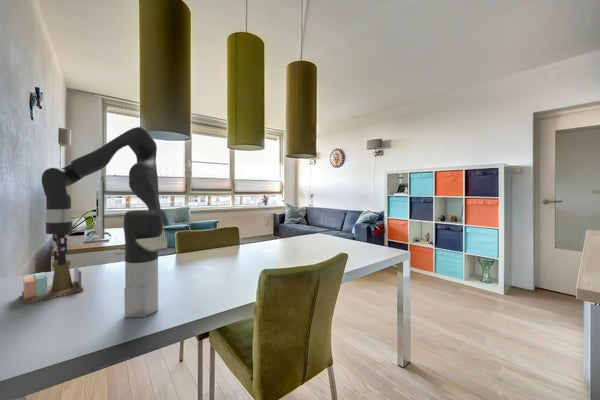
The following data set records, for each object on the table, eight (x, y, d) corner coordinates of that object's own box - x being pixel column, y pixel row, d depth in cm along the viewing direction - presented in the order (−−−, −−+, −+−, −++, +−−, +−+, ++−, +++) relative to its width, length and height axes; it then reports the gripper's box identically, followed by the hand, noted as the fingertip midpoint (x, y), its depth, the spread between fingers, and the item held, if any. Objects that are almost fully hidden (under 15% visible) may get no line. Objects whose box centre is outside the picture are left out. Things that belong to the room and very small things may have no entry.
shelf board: (23, 304, 90) (23, 299, 90) (22, 295, 98) (22, 291, 98) (83, 291, 102) (83, 287, 102) (77, 284, 110) (77, 280, 110)
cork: (75, 286, 103) (74, 258, 102) (54, 291, 97) (54, 262, 97) (68, 283, 106) (68, 256, 105) (48, 288, 101) (48, 260, 100)
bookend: (78, 287, 102) (78, 272, 102) (74, 281, 108) (74, 267, 108) (81, 286, 103) (81, 271, 102) (77, 281, 109) (76, 266, 108)
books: (25, 298, 91) (24, 281, 91) (23, 291, 97) (23, 275, 97) (47, 293, 95) (47, 277, 95) (44, 287, 101) (44, 272, 101)
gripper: (75, 221, 99) (76, 264, 99) (68, 218, 108) (69, 257, 108) (48, 223, 93) (48, 268, 93) (43, 220, 102) (44, 261, 103)
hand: (59, 262), depth 101 cm, fingers open, 8 cm apart
